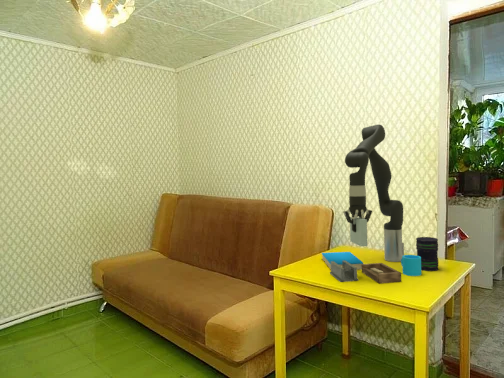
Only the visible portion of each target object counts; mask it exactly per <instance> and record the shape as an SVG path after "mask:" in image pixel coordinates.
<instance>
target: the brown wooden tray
mask: <svg viewBox="0 0 504 378" xmlns="http://www.w3.org/2000/svg"><path fill="white" fill-rule="evenodd" d="M361 265H362V270H361V273H362V274H364V275H365V276H367V277H368V278H369V279H372V280H373V281H374V282H376V283H378V284H389V283H391V284H392V283H402V272H400V271H398V270H397V269H395V268H393V267H390V266H389V265H387V264H385V263H383V262H378V263H376V262H375V263H374V262H373V263H363V264H361ZM370 268H376V269H378V270H381V271H383V273H379V274H375V273H373V272H372V271H370Z"/></svg>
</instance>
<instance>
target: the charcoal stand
mask: <svg viewBox="0 0 504 378" xmlns="http://www.w3.org/2000/svg"><path fill="white" fill-rule="evenodd" d="M342 267H343V268H342ZM342 267H341V266H340V265H338V264H337V263H335V262H334V261H331V269H330V272H329V274H330V275H331V276H333V278H335V279H336V280H337V281H338V282H339V283H345V282H357V281H359V278H358V270H357V268H356V267H355V266H353V265H352V264H350V263H348V262H347V261H345V260H344V261H342Z"/></svg>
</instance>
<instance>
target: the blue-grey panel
mask: <svg viewBox="0 0 504 378" xmlns="http://www.w3.org/2000/svg"><path fill="white" fill-rule="evenodd" d="M351 217H352V216H350V218H351ZM351 220H352V218H351ZM349 235H350V236H349V240H350V243H353V244H355V245H357V246H360V247H368V222H367V220H366V219H362V218H359V216H358V217H357V219H356V232H353V231H352V224H351V223H349Z"/></svg>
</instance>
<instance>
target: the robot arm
mask: <svg viewBox="0 0 504 378" xmlns="http://www.w3.org/2000/svg"><path fill="white" fill-rule="evenodd" d="M385 130H386V129H385V128H384V126H383V125H382V124H375V125H371V126H370V125H369V126H366V127H363V128H362V129H361V139H362V141H361V142H359V144H358V145H357V146H355V147H356V148H353V149H352V150H349V152H348V153H347V154H346V155H345V158H344V163H345V166H347V168H351V169H352V168H359V169H358V171H356V172H351V173H350V174H349V179H348V180H349V186H348V187H349V190H348V196H349V197H348V198H349V199H348V204H349V207H348V209H346V210H344V211H343V214H344V217H345V219H346V221H347V223H348V224H350V223H351V224H352V231H353V232H356V219H357V217H359V218H362V219H366V220H367V223H369V221H370V218H371V217H372V213H373V210H372V209H368V208H367V190H366V173H367V170H368V169H367V168H368V165H369V163H370V169H371V172H372V176H373V179H374V184H375V188H376V193H377V199H378V206H379V210H380V213H381V214H382V215H383V216H385V217H389V218H390V219H389V221H387V222H385V223H384V224H383V245H384V247H383V248H384V252H383V253H384V255H383V257H384V260H385V261H387V262H394V263H395V262H401V259H402V256H403V255H405V246H404V245H405V244H404V242H403V224H404V204H403V202H402V201H400V200H398V199H391V198H390V194H389V187H390V184H391V182H392V172H391V166H390V164H389V163H388V161H387V160H386V159H385V158H384V157H383V156H381V154H379V152H377V150H376V147H377V146H378V145H379V144H381V142H384V140H385V139H386V131H385ZM350 214H351V215H350ZM350 217H351V218H352V220H351V218H350Z"/></svg>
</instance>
